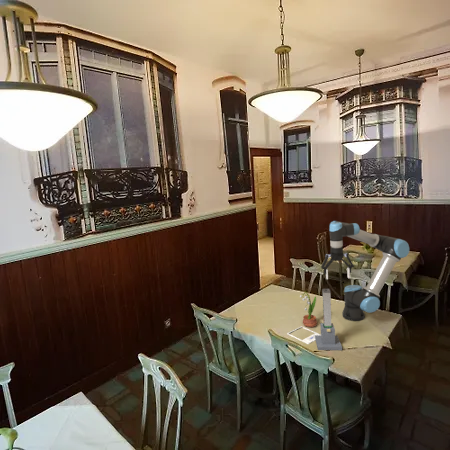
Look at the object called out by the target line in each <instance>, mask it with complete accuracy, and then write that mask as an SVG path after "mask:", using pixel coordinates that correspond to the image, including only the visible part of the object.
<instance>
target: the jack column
mask: <svg viewBox="0 0 450 450" xmlns="http://www.w3.org/2000/svg"><path fill="white" fill-rule="evenodd" d="M331 295H332V294H331V289H330V288H322V313H323V315H322V316H323V324H324V328H332V326H331V323H332V306H331V303H332V302H331Z"/></svg>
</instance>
